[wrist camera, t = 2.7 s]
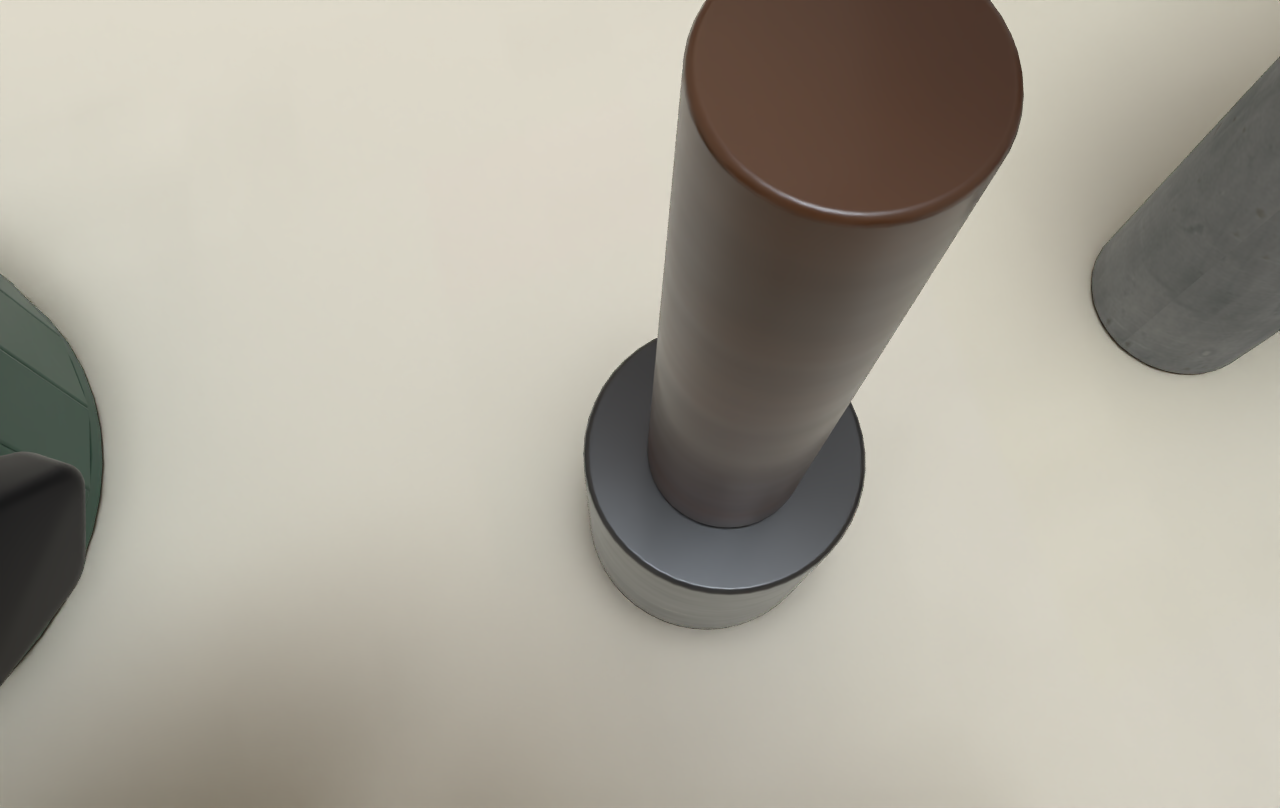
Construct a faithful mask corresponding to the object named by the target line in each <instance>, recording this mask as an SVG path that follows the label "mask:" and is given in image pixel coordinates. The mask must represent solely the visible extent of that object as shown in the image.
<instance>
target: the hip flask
mask: <svg viewBox="0 0 1280 808" xmlns="http://www.w3.org/2000/svg"><path fill="white" fill-rule="evenodd" d="M1092 293H1093V299H1094V304H1095V307H1096V309H1097V312H1098V315H1099V317H1100V319H1101V321H1102V323H1103V324H1104V326H1105V328H1106V329H1107V331H1108V333H1109V334H1110V335H1111V336H1112V337H1113V338H1114V339H1115V340H1116V342H1117V343H1118V344H1119V345H1120V346H1121V347H1122V348H1124V349H1125V350H1126V351H1127V352H1129V353H1130V354H1131V355H1132V356H1134V357H1135V358H1137V359H1139V360H1141V361H1143V362H1144V363H1146V364H1148V365H1150V366H1153V367H1156V368H1159V369H1161V370H1164V371H1169V372H1174V373H1180V374H1200V373H1205V372H1210V371H1214V370H1217V369H1219V368H1222V367H1224V366H1226V365H1228V364H1230V363H1232V362H1233V361H1235V360H1236V359H1238V358H1239V357H1241V356H1242V355H1244V354H1245V353H1247V352H1248V351H1250V350H1251V349H1253V348H1254V347H1256V346H1257V345H1259V344H1260V343H1262V342H1263V341H1265V340H1266V339H1268V338H1269V337H1271V336H1272V335H1274V334H1275V333H1277V332H1278V331H1280V57H1279V58H1278V59H1277V60H1276V61H1275V62H1274V63H1273V64H1272V65H1271V66H1270V67H1269V68H1268V70H1267V71H1266V72H1265V73H1264V74H1263V75H1262V76H1261V77H1260V78H1259V79H1258V80H1257V81H1256V83H1255V84H1254V85H1253V86H1252V87H1251V88H1250V89H1249V90H1248V91H1247V92H1246V93H1245V94H1244V95H1243V97H1242V98H1241V99H1240V100H1239V101H1238V102H1237V103H1236V104H1235V105H1234V106H1233V107H1232V108H1231V110H1230V111H1229V112H1228V113H1227V114H1226V115H1225V116H1224V117H1223V118H1222V119H1221V120H1220V121H1219V122H1218V124H1217V125H1216V126H1215V127H1214V128H1213V129H1212V130H1211V131H1210V132H1209V133H1208V134H1207V135H1206V137H1205V138H1204V139H1203V140H1202V141H1201V142H1200V143H1199V144H1198V145H1197V146H1196V147H1195V148H1194V150H1193V151H1192V152H1191V153H1190V154H1189V155H1188V156H1187V157H1186V158H1185V159H1184V160H1183V161H1182V162H1181V164H1180V165H1179V166H1178V167H1177V168H1176V169H1175V170H1174V171H1173V172H1172V173H1171V174H1170V175H1169V177H1168V178H1167V179H1166V180H1165V181H1164V182H1163V183H1162V184H1161V185H1160V186H1159V187H1158V188H1157V189H1156V191H1155V192H1154V193H1153V194H1152V195H1151V196H1150V197H1149V198H1148V199H1147V200H1146V201H1145V202H1144V204H1143V205H1142V206H1141V207H1140V208H1139V209H1138V210H1137V211H1136V212H1135V213H1134V214H1133V215H1132V216H1131V218H1130V219H1129V220H1128V221H1127V222H1126V223H1125V224H1124V225H1123V226H1122V227H1121V228H1120V229H1119V231H1118V232H1117V233H1116V234H1115V235H1114V236H1113V237H1112V238H1111V239H1110V240H1109V241H1108V242H1107V244H1106V245H1105V246H1104V247H1103V249H1102V250H1101V252H1100V254H1099V256H1098V257H1097V259H1096V263H1095V266H1094V270H1093V274H1092Z"/></svg>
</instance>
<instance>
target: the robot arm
mask: <svg viewBox="0 0 1280 808" xmlns="http://www.w3.org/2000/svg"><path fill="white" fill-rule="evenodd" d="M85 557H86V508H85V481H84V478H83V476H82V474H81V472H80V471H79V470H78V469H77V468H76V467H74V466H73V465H71V464H68V463H65V462H62V461H58V460H55V459H52V458H49V457H46V456H43V455H40V454H37V453H32V452H16V453H11V454H7V455H2V456H0V686H1V685H2V684H3V682H4V681H5V680H6V678H7V677H8V676H9V674H10V673H11V672H12V670H13V669H14V668H15V666H16V665H17V664H18V662H19V661H20V660H21V659H22V657H23V656H24V655H25V653H26V652H27V651H28V649H29V648H30V647H31V645H32V644H33V643H34V641H35V640H36V639H37V637H38V636H39V635H40V633H41V632H42V631H43V630H44V628H45V627H46V626H47V624H48V623H49V622H50V620H51V619H52V618H53V616H54V615H55V614H56V612H57V611H58V610H59V608H60V607H61V606H62V604H63V603H64V602H65V600H66V599H67V598H68V597H69V595H70V594H71V592H72V591H73V589H74V588H75V586H76V585H77V583H78V581H79V579H80V577H81V574H82V571H83V568H84V564H85Z"/></svg>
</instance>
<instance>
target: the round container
mask: <svg viewBox="0 0 1280 808" xmlns="http://www.w3.org/2000/svg"><path fill="white" fill-rule="evenodd" d="M16 452H32V453H37V454H40V455H43V456H46V457H49V458H52V459H55V460H58V461H62V462H65V463H68V464H71V465H73V466H74V467H76V468H77V469H78V470H79V471H80V472H81V474H82V476H83V478H84V481H85V508H86V549H87V546H88V543H89V541H90V538H91V535H92V532H93V527H94V522H95V518H96V513H97V508H98V504H99V499H100V489H101V476H102V464H103V463H102V447H101V431H100V425H99V421H98V416H97V411H96V406H95V402H94V398H93V395H92V392H91V390H90V387H89V384H88V382H87V379H86V376H85V374H84V371H83V369H82V367H81V365H80V363H79V362H78V360H77V358H76V356H75V354H74V353H73V351H72V349H71V347H70V346H69V344H68V342H67V341H66V340H65V339H64V337H63V336H62V335H61V334H60V332H59V331H58V330H57V328H56V327H55V326H54V325H53V323H52V322H51V321H50V320H49V319H48V318H47V317H46V316H45V315H44V314H43V313H42V312H41V311H40V310H39V309H37V308H36V307H35V306H34V305H33V304H32V303H31V302H30V301H29V300H28V299H27V298H25V297H24V295H23V294H22V293H21V292H20V291H19V290H18V289H17V288H16V287H15V286H14V285H13V284H12V283H11V282H10V281H8V280H7V279H6V278H5V277H3V276H2V275H1V274H0V456H2V455H7V454H11V453H16ZM51 620H52V619H51ZM51 620H50V621H51ZM49 623H50V622H49ZM49 623H48V624H49ZM48 624H47V626H48ZM47 626H46V627H47ZM46 627H45V628H44V630H45V629H46ZM44 630H43V631H42V632H41V633H40V635H39V636H38V637H37V639H36V640H35V641H34V643H35V642H36V641H37V640H38V639H39V637H40V636H41V635H42V634H43V632H44ZM34 643H33V644H32V645H31V647H32V646H33V645H34ZM31 647H30V648H31ZM30 648H29V649H28V651H29V650H30ZM28 651H27V652H28ZM27 652H26V653H27ZM26 653H25V654H26ZM24 656H25V655H24ZM24 656H23V657H24ZM23 657H22V658H23ZM20 661H21V660H20ZM20 661H19V662H20ZM19 662H18V663H19Z"/></svg>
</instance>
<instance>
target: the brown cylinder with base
mask: <svg viewBox="0 0 1280 808" xmlns="http://www.w3.org/2000/svg"><path fill="white" fill-rule="evenodd" d="M1023 98H1024V93H1023V76H1022V69H1021V64H1020V60H1019V55H1018V51H1017V48H1016V46H1015V43H1014V40H1013V38H1012V35H1011V33H1010V31H1009V29H1008V27H1007V25H1006V23H1005V22H1004V20H1003V18H1002V16H1001V15H1000V13H999V12H998V11H997V9H996V8H995V6H994V5H993V4H992V2H991V1H990V0H706V1H705V2H704V4H703V5H702V7H701V9H700V11H699V12H698V14H697V16H696V18H695V20H694V22H693V25H692V27H691V30H690V33H689V35H688V38H687V43H686V48H685V53H684V59H683V69H682V80H681V91H680V102H679V112H678V123H677V134H676V145H675V155H674V166H673V177H672V188H671V198H670V209H669V220H668V231H667V241H666V252H665V263H664V274H663V285H662V295H661V306H660V317H659V328H658V338H656V339H653V340H652V341H650V342H648V343H647V344H645V345H644V346H642V347H641V348H639V349H637V350H636V351H635V352H634V353H633V354H631V355H630V356H629V357H628V358H627V359H625V360H624V361H623V362H622V363H621V365H620V366H619V367H618V368H617V369H616V370H615V371H614V372H613V373H612V375H611V376H610V377H609V379H608V380H607V382H606V383H605V384H604V386H603V387H602V389H601V391H600V393H599V395H598V397H597V399H596V401H595V403H594V405H593V408H592V411H591V414H590V416H589V419H588V424H587V428H586V433H585V440H584V453H583V456H584V472H585V481H586V490H587V499H588V508H589V517H590V526H591V532H592V537H593V542H594V546H595V548H596V551H597V554H598V557H599V559H600V561H601V563H602V565H603V567H604V569H605V571H606V573H607V574H608V576H609V577H610V579H611V580H612V582H613V583H614V584H615V585H616V587H617V588H618V589H619V590H620V591H621V592H622V593H623V594H624V595H625V596H626V597H627V598H628V599H629V600H630V601H631V602H633V603H634V604H635V605H636V606H638V607H639V608H641V609H642V610H644V611H645V612H647V613H648V614H650V615H652V616H654V617H656V618H658V619H661V620H663V621H666V622H669V623H672V624H675V625H678V626H683V627H688V628H696V629H717V628H726V627H731V626H735V625H739V624H742V623H745V622H748V621H751V620H753V619H755V618H757V617H759V616H761V615H763V614H765V613H767V612H768V611H769V610H771V609H772V608H774V607H775V606H777V605H778V604H779V603H780V602H781V601H782V600H783V599H785V598H786V597H787V596H788V595H789V594H790V593H791V592H792V591H793V590H794V589H795V588H796V587H797V586H798V585H799V584H800V583H801V582H802V581H803V580H804V579H805V578H806V577H807V576H808V575H809V573H810V572H811V571H812V570H813V569H814V568H815V567H816V566H817V565H818V564H819V563H820V562H821V561H822V560H823V559H824V558H825V557H826V556H827V555H828V554H829V553H830V552H831V551H832V550H833V548H834V547H835V546H836V545H837V543H838V542H839V541H840V540H841V539H842V537H843V535H844V534H845V532H846V530H847V529H848V527H849V526H850V524H851V522H852V520H853V517H854V515H855V513H856V510H857V508H858V506H859V502H860V498H861V495H862V491H863V486H864V478H865V448H864V441H863V435H862V431H861V428H860V424H859V421H858V417H857V415H856V413H855V410H854V408H853V406H852V404H851V400H852V399H853V397H854V396H855V394H856V393H857V391H858V389H859V388H860V386H861V385H862V383H863V382H864V380H865V378H866V377H867V375H868V374H869V372H870V370H871V369H872V367H873V366H874V364H875V363H876V361H877V359H878V358H879V356H880V355H881V353H882V352H883V350H884V348H885V347H886V345H887V344H888V342H889V341H890V339H891V337H892V336H893V334H894V333H895V331H896V330H897V328H898V326H899V325H900V323H901V322H902V320H903V318H904V317H905V315H906V314H907V312H908V311H909V309H910V307H911V306H912V304H913V303H914V301H915V300H916V298H917V296H918V295H919V293H920V292H921V290H922V289H923V287H924V285H925V284H926V282H927V281H928V279H929V278H930V276H931V274H932V273H933V271H934V270H935V268H936V266H937V265H938V263H939V262H940V260H941V259H942V257H943V255H944V254H945V252H946V251H947V249H948V248H949V246H950V244H951V243H952V241H953V240H954V238H955V237H956V235H957V233H958V232H959V230H960V229H961V227H962V226H963V224H964V222H965V221H966V219H967V218H968V216H969V214H970V213H971V211H972V210H973V208H974V207H975V205H976V203H977V202H978V200H979V199H980V197H981V196H982V194H983V192H984V191H985V189H986V188H987V186H988V185H989V183H990V181H991V180H992V178H993V177H994V175H995V174H996V172H997V170H998V169H999V167H1000V166H1001V164H1002V162H1003V161H1004V159H1005V158H1006V156H1007V154H1008V153H1009V151H1010V149H1011V147H1012V144H1013V142H1014V140H1015V137H1016V135H1017V132H1018V128H1019V124H1020V120H1021V116H1022V109H1023Z"/></svg>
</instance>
